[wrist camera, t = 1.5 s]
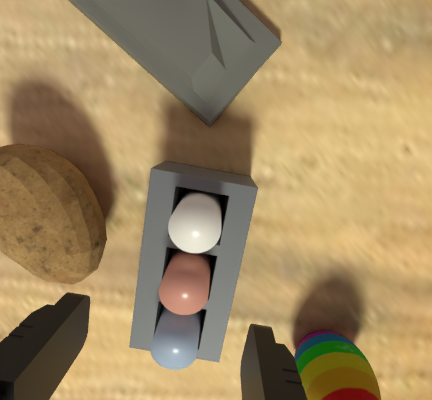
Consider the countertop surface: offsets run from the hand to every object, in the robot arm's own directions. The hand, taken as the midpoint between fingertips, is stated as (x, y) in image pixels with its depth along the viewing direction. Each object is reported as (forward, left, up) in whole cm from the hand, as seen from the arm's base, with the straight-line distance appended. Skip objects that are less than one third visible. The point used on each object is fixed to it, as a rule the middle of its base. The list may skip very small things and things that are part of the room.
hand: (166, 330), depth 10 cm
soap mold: (-17, -6, -20) cm, 27 cm away
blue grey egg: (+11, 0, -17) cm, 20 cm away
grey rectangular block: (+5, 0, -20) cm, 20 cm away
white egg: (0, 0, -17) cm, 17 cm away
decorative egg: (+16, +18, -20) cm, 31 cm away
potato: (+3, -14, -20) cm, 25 cm away
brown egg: (+5, 0, -17) cm, 18 cm away
